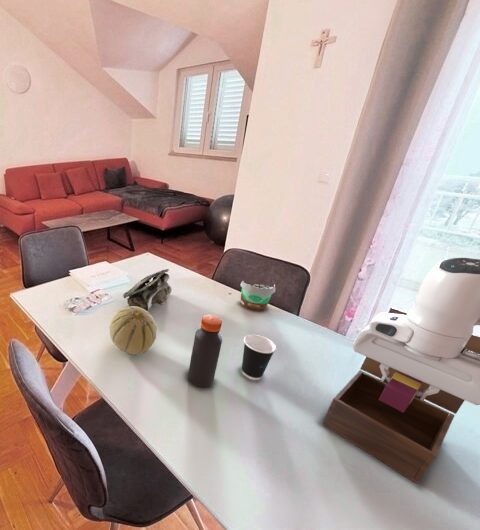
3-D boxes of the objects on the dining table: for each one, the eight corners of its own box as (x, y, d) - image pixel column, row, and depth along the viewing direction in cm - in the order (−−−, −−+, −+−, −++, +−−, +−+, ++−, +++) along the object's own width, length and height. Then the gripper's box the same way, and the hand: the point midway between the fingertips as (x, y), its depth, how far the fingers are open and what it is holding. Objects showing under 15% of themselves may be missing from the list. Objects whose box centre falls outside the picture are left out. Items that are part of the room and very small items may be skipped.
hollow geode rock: (130, 328, 119) (157, 314, 108) (111, 300, 121) (136, 283, 110) (165, 298, 138) (191, 284, 127) (148, 274, 140) (172, 258, 129)
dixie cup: (236, 361, 95) (244, 331, 91) (266, 369, 92) (275, 339, 87) (235, 378, 89) (243, 347, 84) (267, 388, 85) (277, 355, 81)
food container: (238, 309, 122) (243, 287, 118) (236, 302, 128) (241, 280, 123) (273, 314, 119) (280, 291, 115) (269, 306, 124) (276, 284, 120)
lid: (500, 344, 62) (501, 339, 65) (390, 307, 74) (395, 304, 77) (455, 414, 67) (458, 406, 70) (360, 368, 80) (365, 364, 83)
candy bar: (418, 390, 69) (426, 375, 68) (403, 413, 64) (412, 398, 62) (394, 378, 72) (401, 365, 71) (378, 400, 67) (385, 385, 65)
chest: (417, 484, 62) (436, 456, 59) (321, 424, 75) (333, 398, 72) (437, 441, 71) (455, 415, 68) (348, 394, 83) (359, 369, 80)
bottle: (182, 374, 90) (192, 316, 82) (200, 368, 93) (211, 310, 85) (199, 391, 84) (212, 329, 76) (218, 383, 87) (232, 323, 79)
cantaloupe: (121, 329, 110) (123, 292, 104) (161, 344, 103) (166, 305, 97) (99, 352, 99) (101, 312, 93) (142, 371, 91) (147, 328, 85)
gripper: (517, 360, 56) (477, 416, 61) (371, 309, 71) (350, 357, 77) (513, 374, 52) (471, 432, 58) (361, 318, 68) (340, 367, 74)
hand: (401, 389), depth 67 cm, fingers closed on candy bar, 4 cm apart
